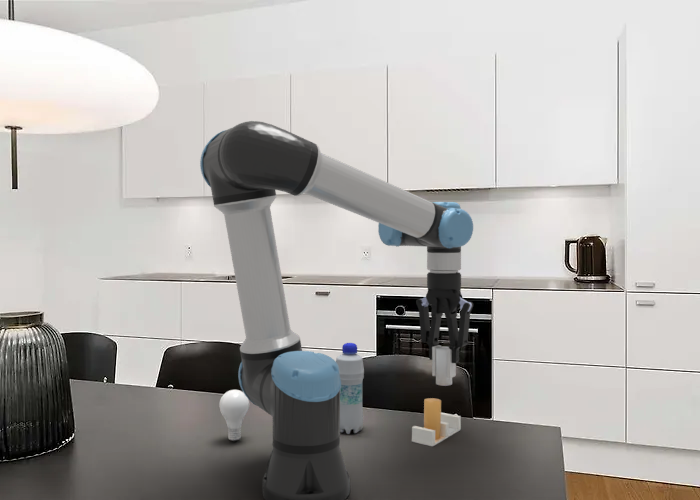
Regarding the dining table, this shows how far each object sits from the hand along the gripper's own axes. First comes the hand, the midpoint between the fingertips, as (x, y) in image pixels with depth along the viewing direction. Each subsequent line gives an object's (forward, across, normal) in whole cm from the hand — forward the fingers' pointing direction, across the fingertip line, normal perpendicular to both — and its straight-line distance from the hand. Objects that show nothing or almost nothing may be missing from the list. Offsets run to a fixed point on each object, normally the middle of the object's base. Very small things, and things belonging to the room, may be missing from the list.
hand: (443, 375), depth 136 cm
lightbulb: (+13, +34, +32) cm, 48 cm away
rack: (+13, 0, +3) cm, 13 cm away
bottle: (+13, +18, +12) cm, 25 cm away
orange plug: (+12, 0, +6) cm, 14 cm away
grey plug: (+2, 0, 0) cm, 2 cm away
